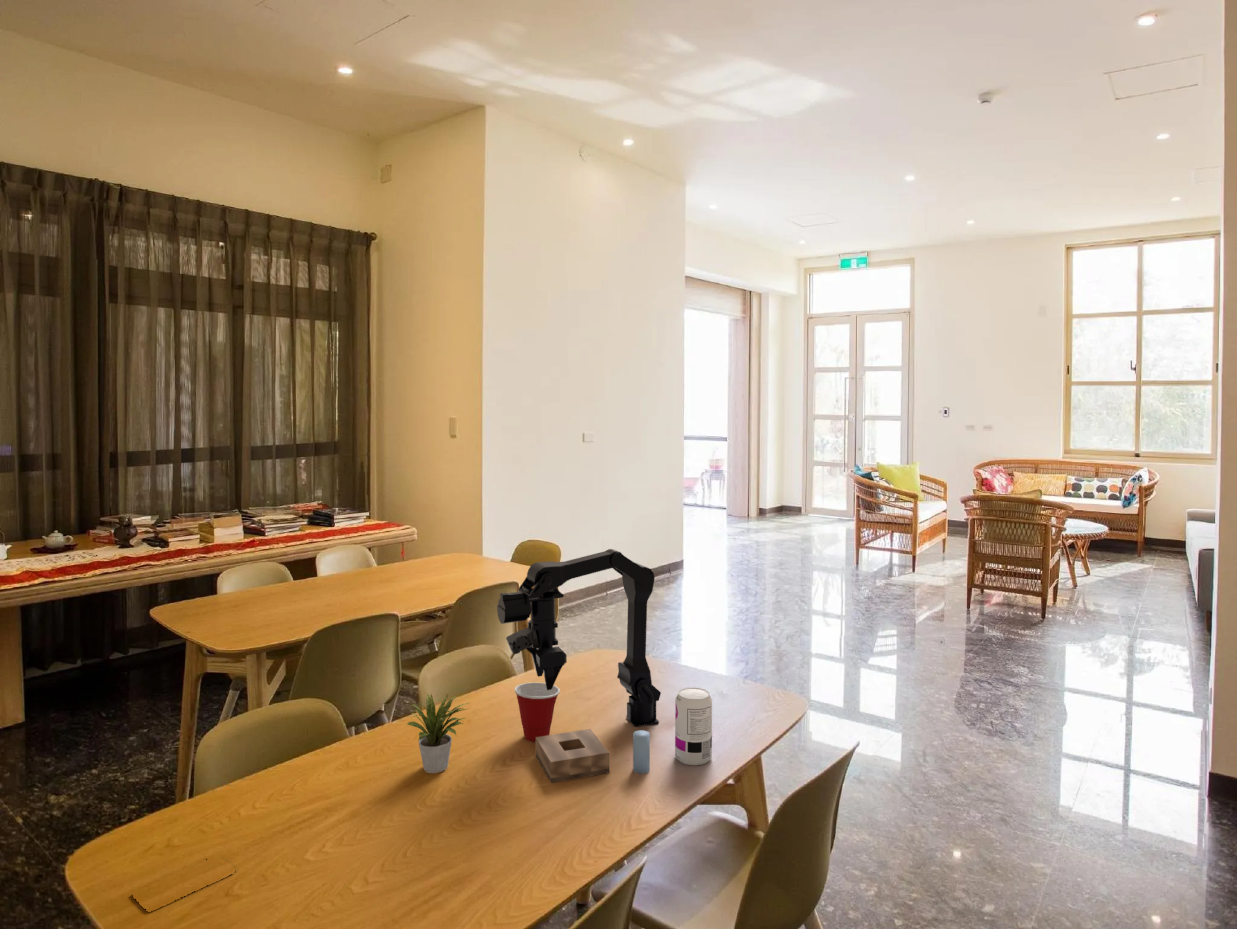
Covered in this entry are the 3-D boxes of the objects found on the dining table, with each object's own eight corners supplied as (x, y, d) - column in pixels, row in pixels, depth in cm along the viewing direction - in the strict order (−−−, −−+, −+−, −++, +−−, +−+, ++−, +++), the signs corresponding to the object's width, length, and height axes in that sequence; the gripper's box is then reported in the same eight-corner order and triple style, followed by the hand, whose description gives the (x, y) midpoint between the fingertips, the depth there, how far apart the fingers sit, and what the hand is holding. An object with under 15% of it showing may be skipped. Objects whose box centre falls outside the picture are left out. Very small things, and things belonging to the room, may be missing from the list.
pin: (645, 764, 171) (645, 729, 171) (652, 771, 168) (652, 736, 167) (630, 767, 170) (630, 731, 169) (636, 774, 167) (636, 738, 166)
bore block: (590, 747, 180) (590, 728, 179) (609, 772, 167) (609, 752, 167) (535, 756, 175) (535, 737, 175) (551, 782, 163) (551, 762, 163)
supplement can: (669, 761, 173) (669, 696, 171) (683, 747, 180) (684, 684, 179) (703, 769, 169) (704, 702, 168) (716, 754, 176) (717, 690, 175)
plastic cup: (569, 738, 185) (569, 689, 184) (530, 750, 178) (530, 700, 177) (544, 723, 193) (543, 676, 192) (506, 735, 186) (505, 686, 185)
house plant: (452, 789, 160) (450, 712, 159) (390, 782, 163) (388, 707, 162) (478, 758, 174) (477, 687, 173) (420, 752, 177) (419, 683, 175)
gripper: (501, 610, 187) (502, 673, 188) (517, 632, 169) (518, 702, 171) (546, 606, 191) (547, 668, 192) (566, 627, 173) (567, 695, 174)
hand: (544, 682), depth 182 cm, fingers open, 9 cm apart
